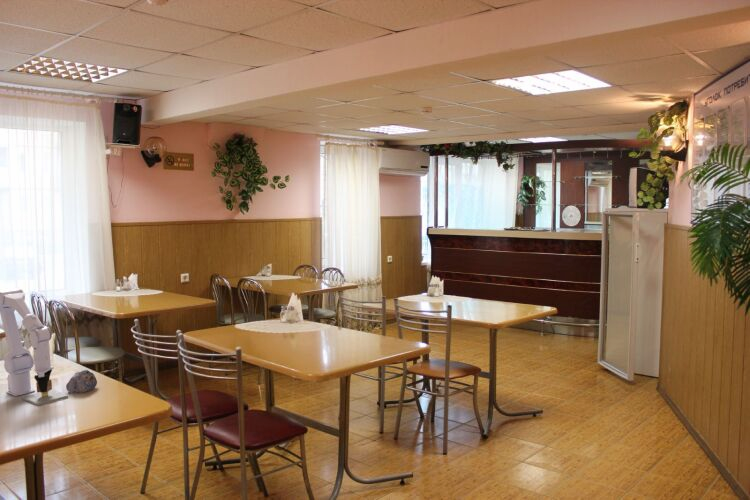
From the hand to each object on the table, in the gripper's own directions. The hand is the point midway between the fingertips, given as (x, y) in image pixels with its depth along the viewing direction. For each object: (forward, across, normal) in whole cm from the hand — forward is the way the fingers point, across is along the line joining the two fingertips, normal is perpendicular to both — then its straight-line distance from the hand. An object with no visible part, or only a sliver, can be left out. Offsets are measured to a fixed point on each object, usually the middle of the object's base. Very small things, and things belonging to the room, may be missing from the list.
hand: (44, 389), depth 255 cm
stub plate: (+4, 0, 0) cm, 4 cm away
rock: (+4, +5, -13) cm, 15 cm away
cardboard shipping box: (0, 0, 0) cm, 0 cm away
